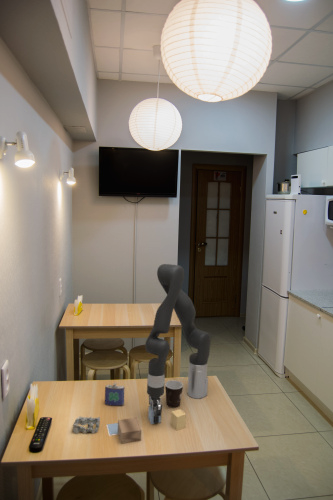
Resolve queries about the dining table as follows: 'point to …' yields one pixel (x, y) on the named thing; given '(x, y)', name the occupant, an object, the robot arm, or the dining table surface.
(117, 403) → the flask
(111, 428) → the tile
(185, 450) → the dining table surface
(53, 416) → the dining table surface
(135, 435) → the base block
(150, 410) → the blue block
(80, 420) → the egg carton
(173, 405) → the coffee mug
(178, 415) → the ochre block
